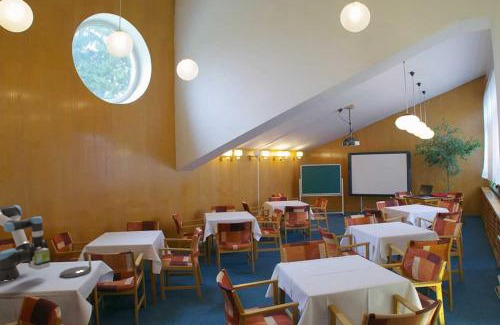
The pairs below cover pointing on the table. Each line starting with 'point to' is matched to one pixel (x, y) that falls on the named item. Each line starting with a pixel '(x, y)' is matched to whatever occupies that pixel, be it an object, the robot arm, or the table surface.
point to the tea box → (40, 258)
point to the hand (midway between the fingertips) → (39, 262)
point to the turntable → (76, 271)
